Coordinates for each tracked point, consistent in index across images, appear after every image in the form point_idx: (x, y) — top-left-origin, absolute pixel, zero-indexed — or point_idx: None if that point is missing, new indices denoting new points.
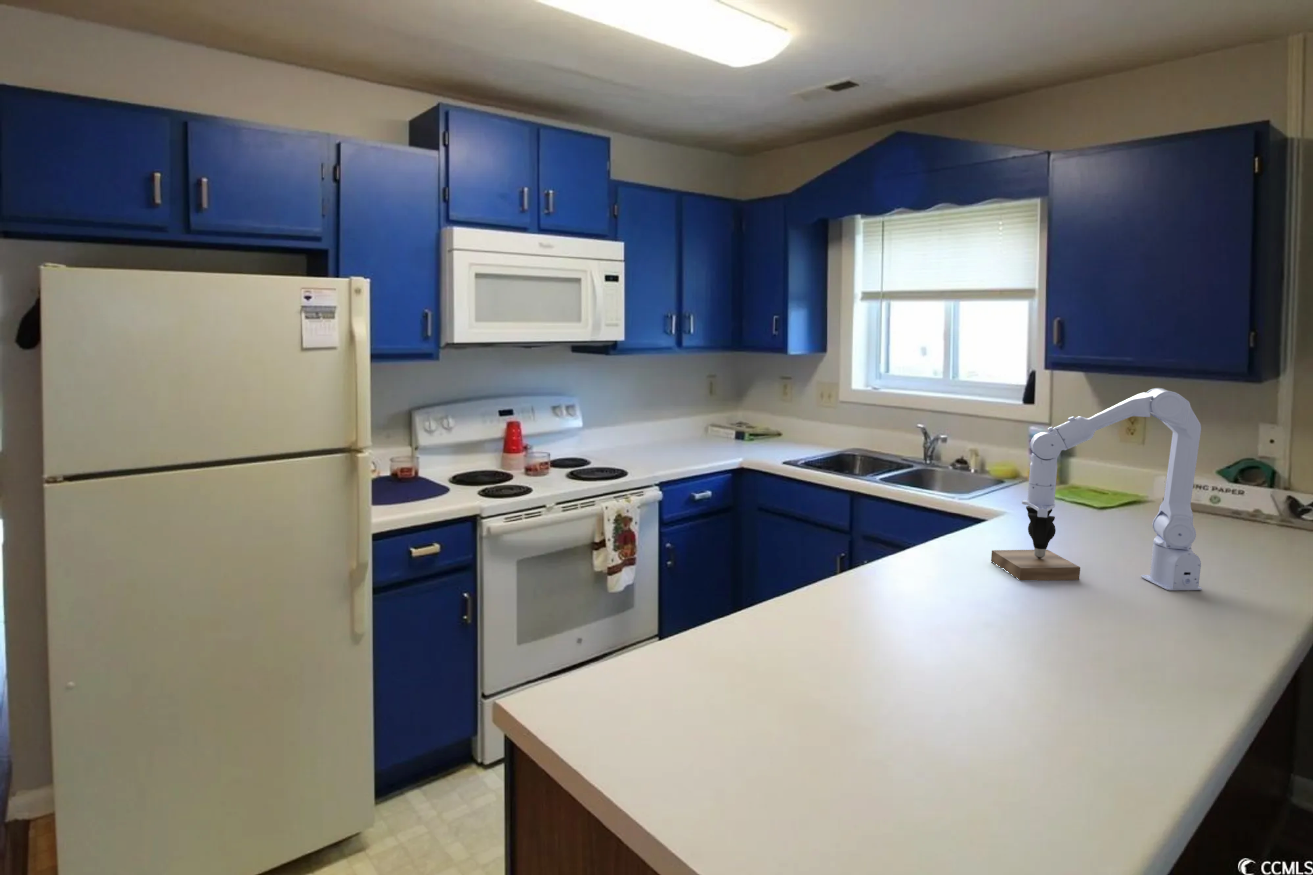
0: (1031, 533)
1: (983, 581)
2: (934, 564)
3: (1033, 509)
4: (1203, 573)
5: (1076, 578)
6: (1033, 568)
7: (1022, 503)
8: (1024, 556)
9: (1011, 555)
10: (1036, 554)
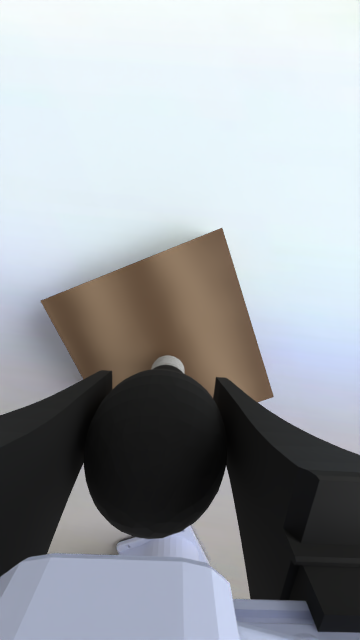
0: (123, 380)
1: (12, 196)
2: (130, 26)
3: (286, 522)
4: (245, 598)
5: None
6: (61, 336)
7: (8, 583)
8: (177, 326)
9: (175, 288)
10: (155, 361)
